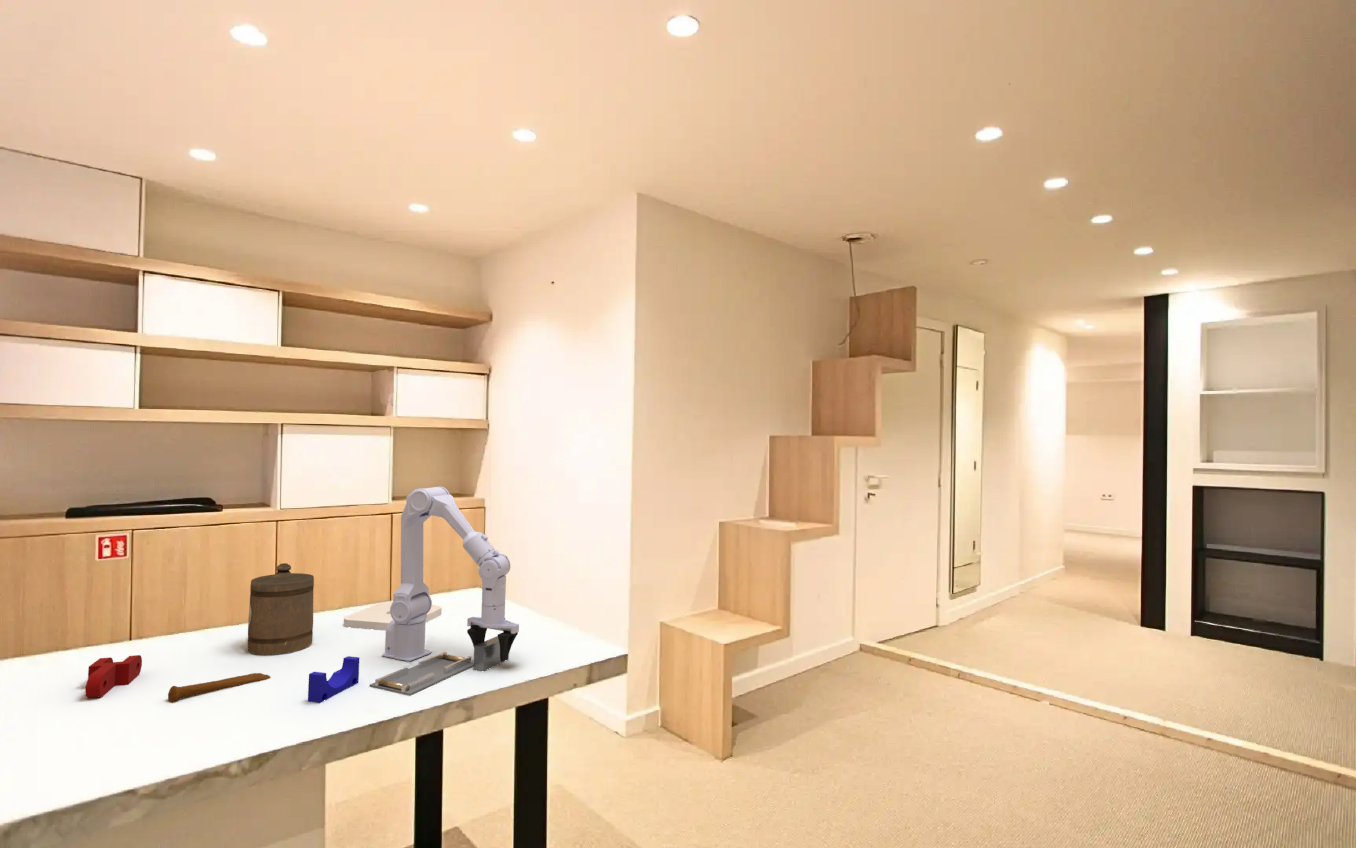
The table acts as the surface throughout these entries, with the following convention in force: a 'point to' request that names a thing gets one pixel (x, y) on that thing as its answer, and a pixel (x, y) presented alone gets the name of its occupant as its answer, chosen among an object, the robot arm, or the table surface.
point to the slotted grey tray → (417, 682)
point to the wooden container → (280, 612)
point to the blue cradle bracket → (333, 681)
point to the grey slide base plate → (417, 673)
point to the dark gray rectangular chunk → (487, 654)
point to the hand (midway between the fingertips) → (491, 658)
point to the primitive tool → (213, 686)
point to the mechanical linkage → (111, 675)
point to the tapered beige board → (380, 617)
